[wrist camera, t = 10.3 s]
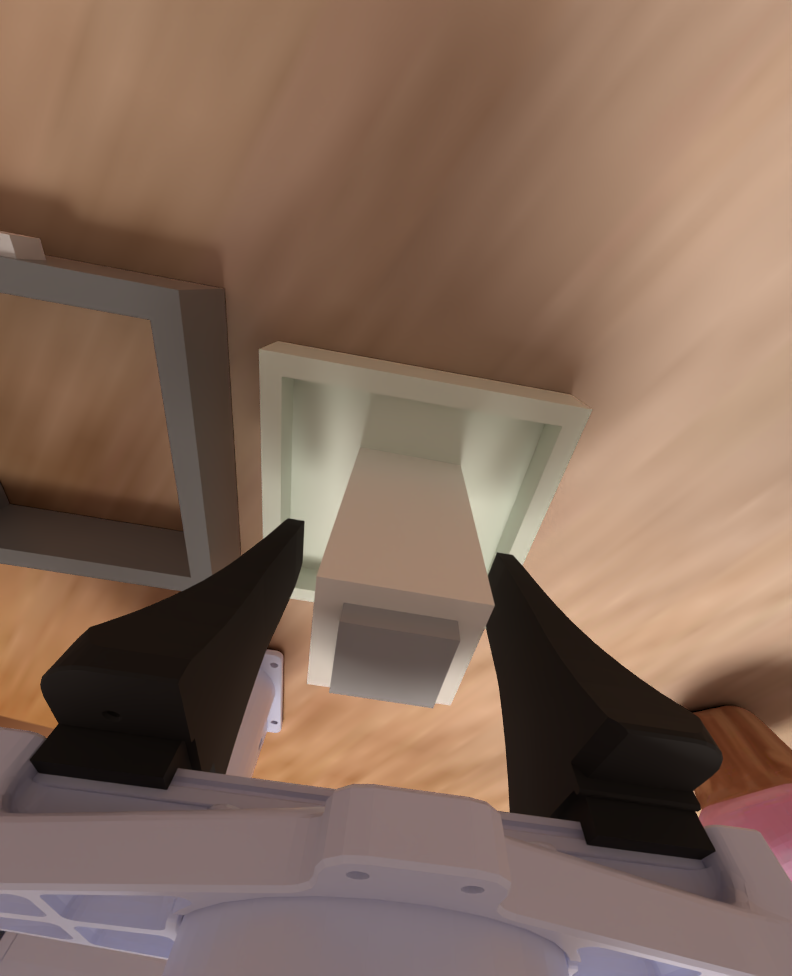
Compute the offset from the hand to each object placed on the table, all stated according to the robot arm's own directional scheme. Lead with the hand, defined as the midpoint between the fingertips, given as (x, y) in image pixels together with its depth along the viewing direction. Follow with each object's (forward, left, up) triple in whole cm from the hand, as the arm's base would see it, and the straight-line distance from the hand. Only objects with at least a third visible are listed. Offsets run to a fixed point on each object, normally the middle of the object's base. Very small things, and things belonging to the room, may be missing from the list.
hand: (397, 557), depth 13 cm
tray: (0, 0, -5) cm, 5 cm away
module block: (0, 0, -4) cm, 4 cm away
